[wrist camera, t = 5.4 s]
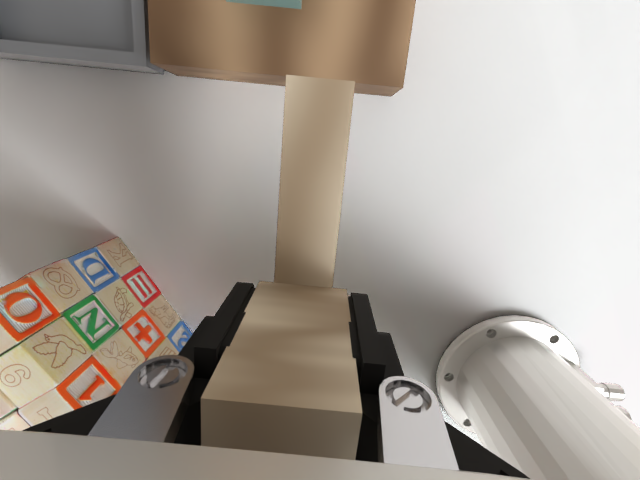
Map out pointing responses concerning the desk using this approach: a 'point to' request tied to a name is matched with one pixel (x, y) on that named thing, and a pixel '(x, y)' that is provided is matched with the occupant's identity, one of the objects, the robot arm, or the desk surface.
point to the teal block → (272, 3)
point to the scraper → (296, 303)
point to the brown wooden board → (284, 41)
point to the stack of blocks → (79, 333)
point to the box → (78, 33)
